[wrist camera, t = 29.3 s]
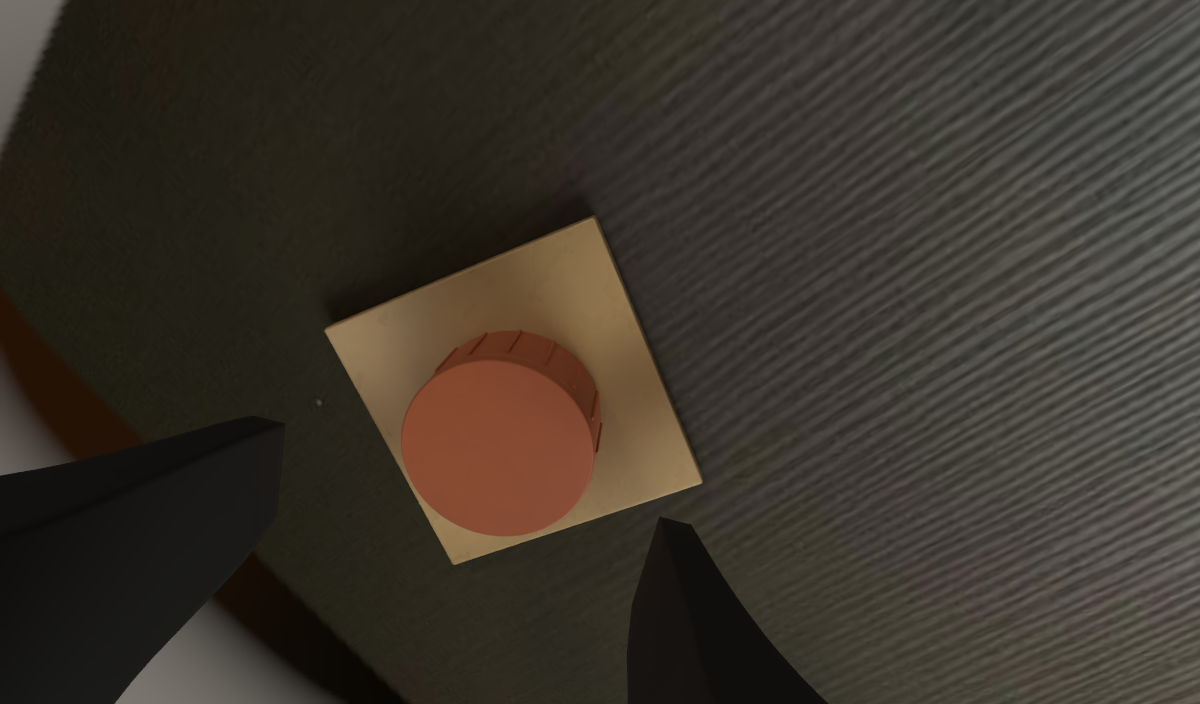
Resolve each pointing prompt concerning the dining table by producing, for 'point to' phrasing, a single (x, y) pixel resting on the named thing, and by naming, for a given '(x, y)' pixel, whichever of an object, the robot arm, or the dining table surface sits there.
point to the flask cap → (503, 434)
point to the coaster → (552, 310)
